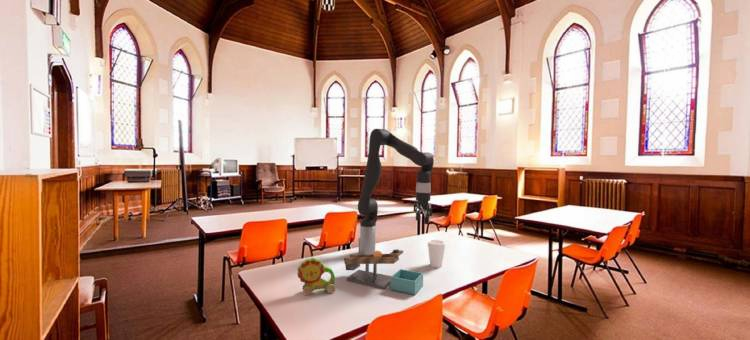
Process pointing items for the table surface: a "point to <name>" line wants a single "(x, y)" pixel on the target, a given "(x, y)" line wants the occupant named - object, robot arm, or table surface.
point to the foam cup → (436, 252)
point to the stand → (370, 277)
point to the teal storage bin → (407, 282)
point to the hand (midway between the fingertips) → (422, 222)
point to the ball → (377, 254)
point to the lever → (371, 259)
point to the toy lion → (315, 276)
